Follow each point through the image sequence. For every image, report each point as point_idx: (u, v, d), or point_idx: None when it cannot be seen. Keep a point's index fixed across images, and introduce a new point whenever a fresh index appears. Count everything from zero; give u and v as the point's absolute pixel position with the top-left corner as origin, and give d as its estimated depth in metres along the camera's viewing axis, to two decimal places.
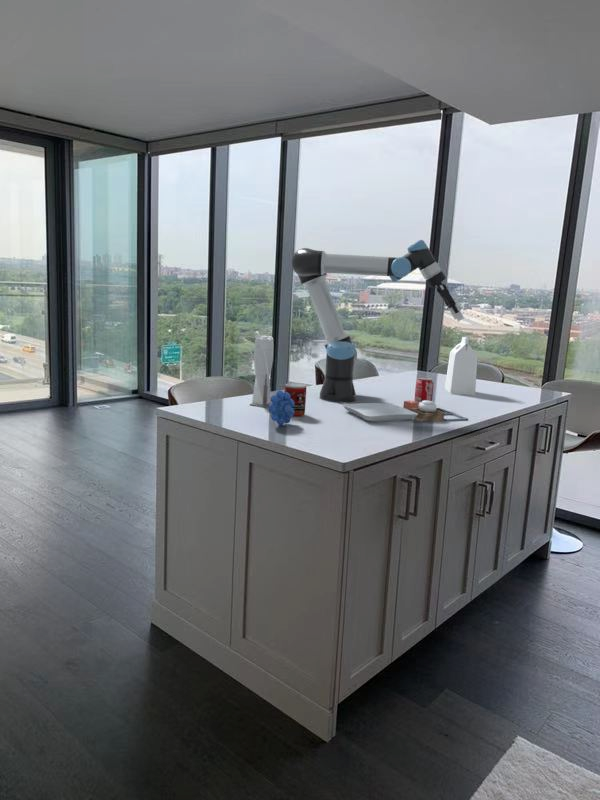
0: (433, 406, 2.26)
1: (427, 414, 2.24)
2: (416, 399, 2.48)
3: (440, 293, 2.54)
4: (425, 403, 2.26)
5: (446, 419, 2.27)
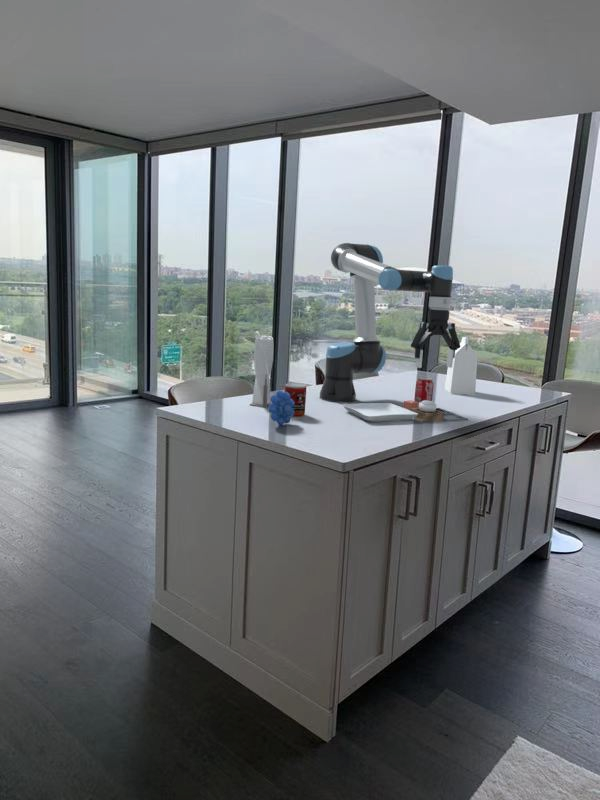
0: (433, 406, 2.26)
1: (427, 414, 2.24)
2: (416, 399, 2.48)
3: (427, 330, 2.24)
4: (425, 403, 2.26)
5: (446, 419, 2.27)
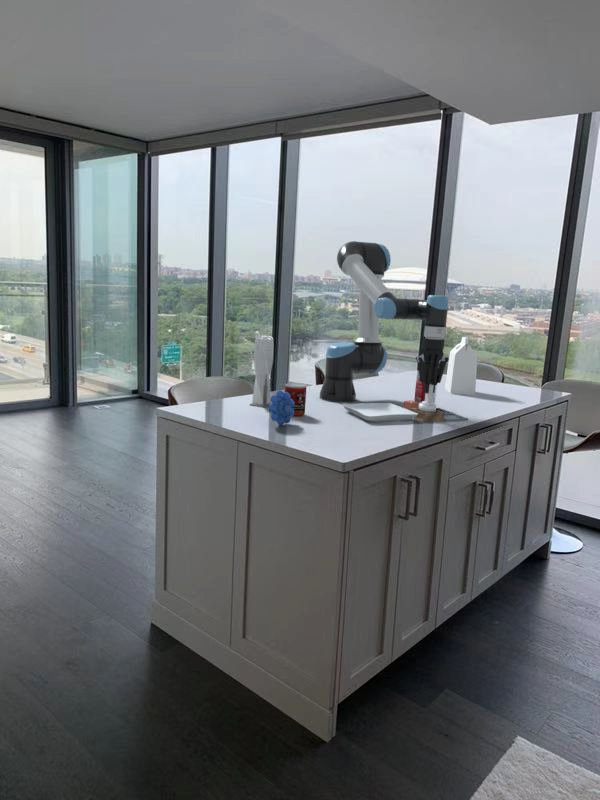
0: (433, 407, 2.26)
1: (427, 414, 2.24)
2: (416, 399, 2.48)
3: (425, 361, 2.26)
4: (425, 404, 2.26)
5: (446, 419, 2.27)
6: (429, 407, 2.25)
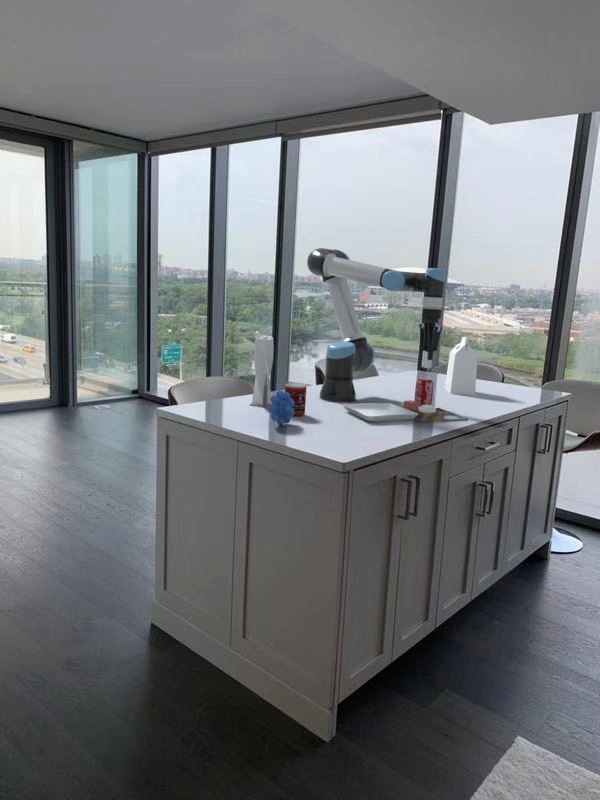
0: (433, 410, 2.26)
1: (427, 414, 2.24)
2: (416, 399, 2.48)
3: (429, 330, 2.41)
4: (425, 407, 2.27)
5: (446, 419, 2.27)
6: (429, 411, 2.25)
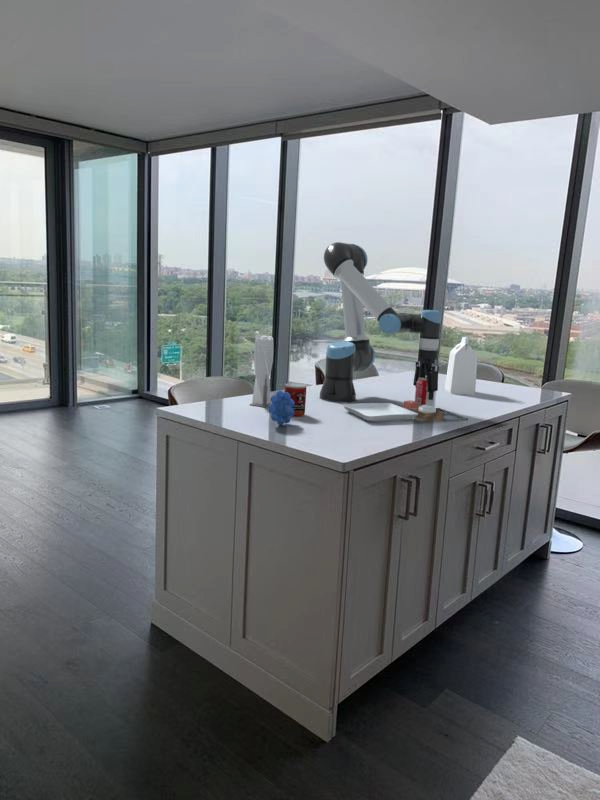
0: (433, 410, 2.26)
1: (427, 414, 2.24)
2: (417, 399, 2.47)
3: (426, 371, 2.44)
4: (425, 407, 2.27)
5: (446, 419, 2.27)
6: (429, 411, 2.25)
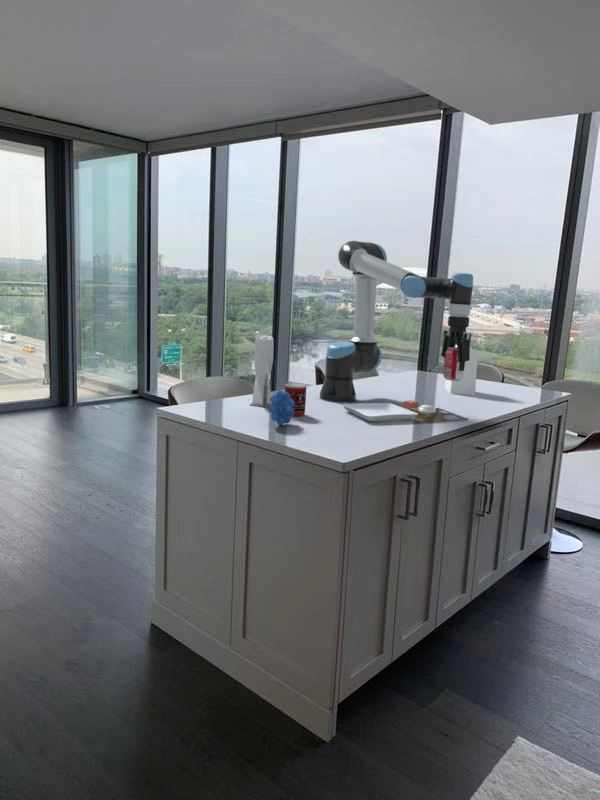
0: (433, 410, 2.26)
1: (427, 414, 2.24)
2: (446, 371, 2.28)
3: (457, 339, 2.25)
4: (425, 407, 2.27)
5: (446, 419, 2.27)
6: (429, 411, 2.25)
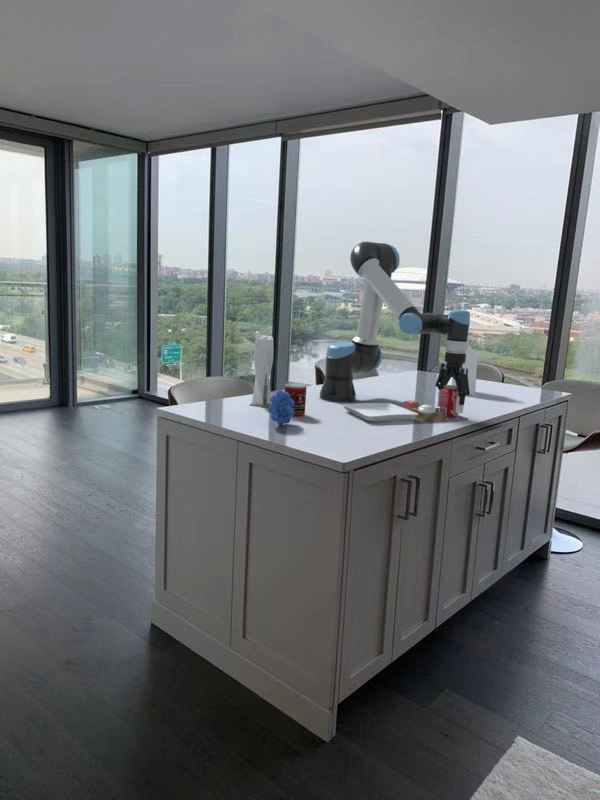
0: (433, 410, 2.26)
1: (427, 414, 2.24)
2: (442, 409, 2.31)
3: (454, 374, 2.26)
4: (425, 407, 2.27)
5: (446, 419, 2.27)
6: (429, 411, 2.25)
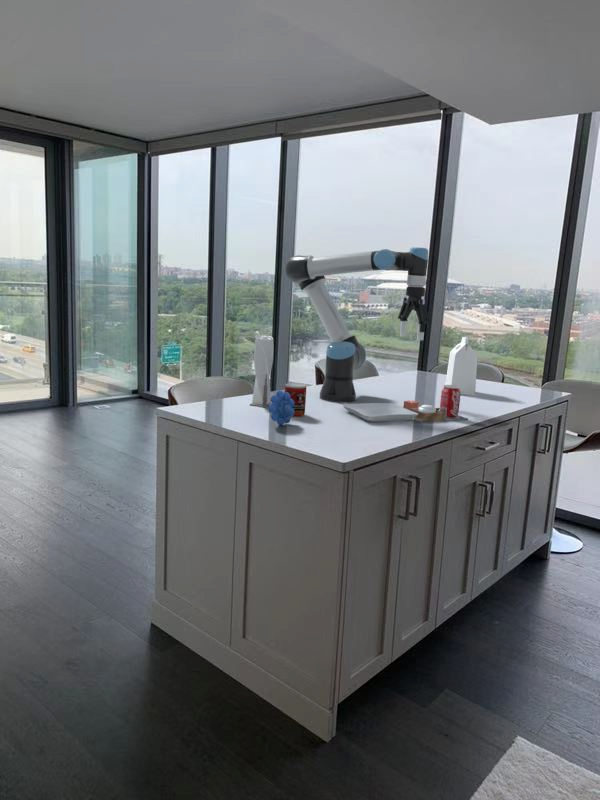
0: (433, 410, 2.26)
1: (427, 414, 2.24)
2: (442, 409, 2.31)
3: (415, 306, 2.49)
4: (425, 407, 2.27)
5: (446, 419, 2.27)
6: (429, 411, 2.25)
